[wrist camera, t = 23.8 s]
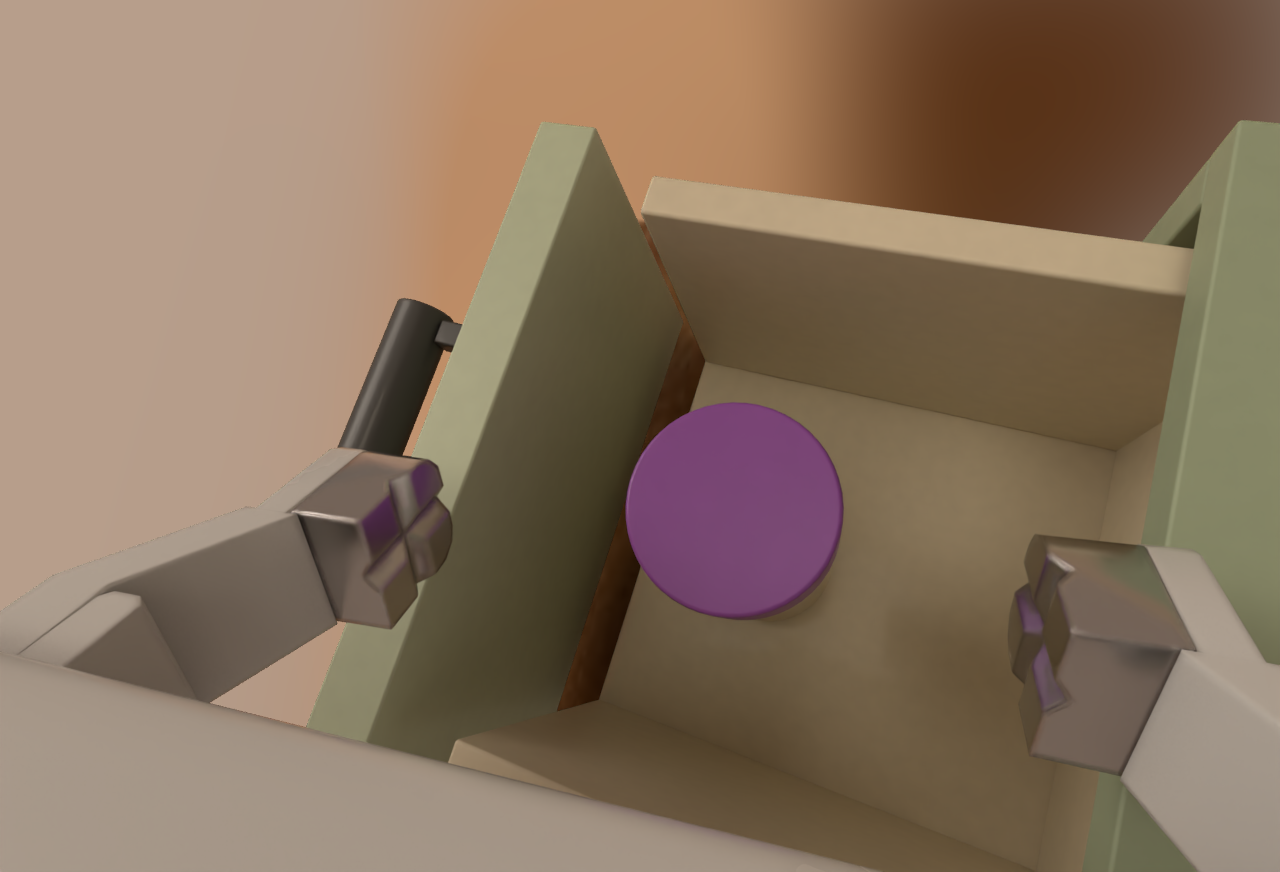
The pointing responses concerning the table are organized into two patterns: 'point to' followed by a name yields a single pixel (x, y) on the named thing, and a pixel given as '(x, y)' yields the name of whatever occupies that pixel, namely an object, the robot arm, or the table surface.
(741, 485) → the glue stick
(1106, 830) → the cabinet
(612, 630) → the table surface
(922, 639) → the drawer
